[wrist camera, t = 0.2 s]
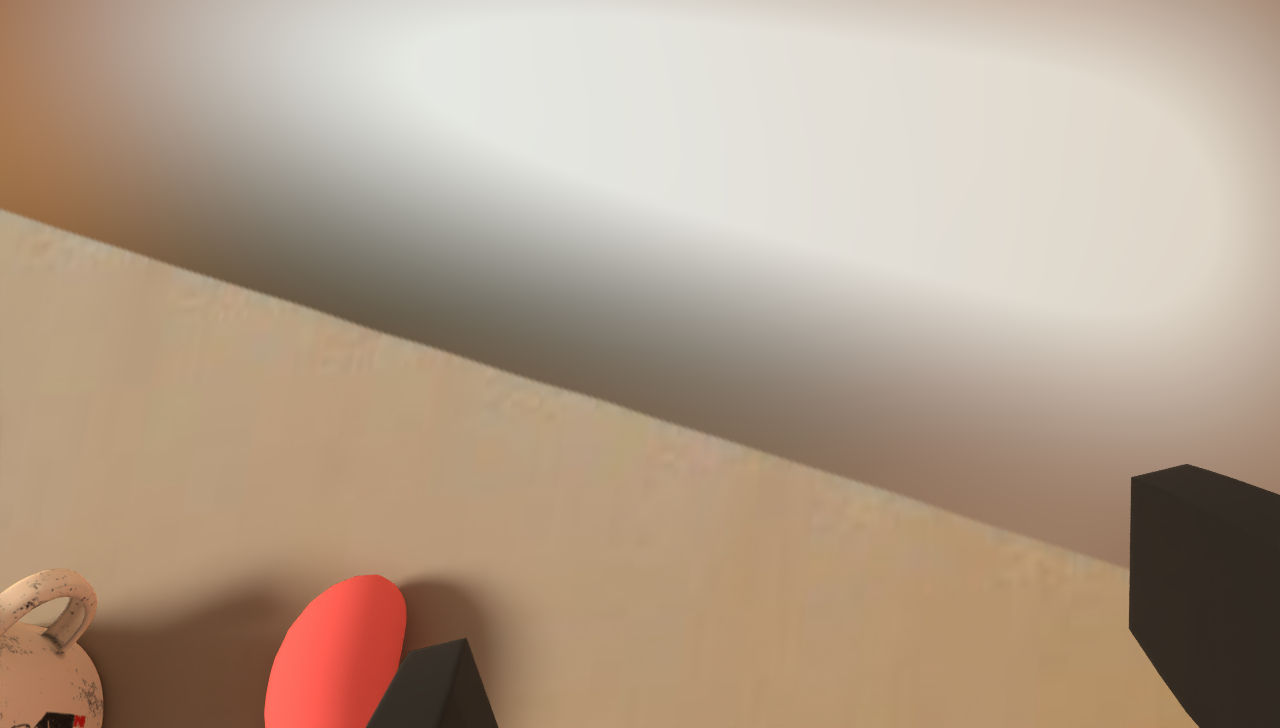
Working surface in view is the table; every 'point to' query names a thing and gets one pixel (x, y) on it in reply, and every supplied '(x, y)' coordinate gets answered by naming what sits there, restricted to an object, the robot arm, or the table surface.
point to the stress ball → (338, 657)
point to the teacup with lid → (48, 656)
